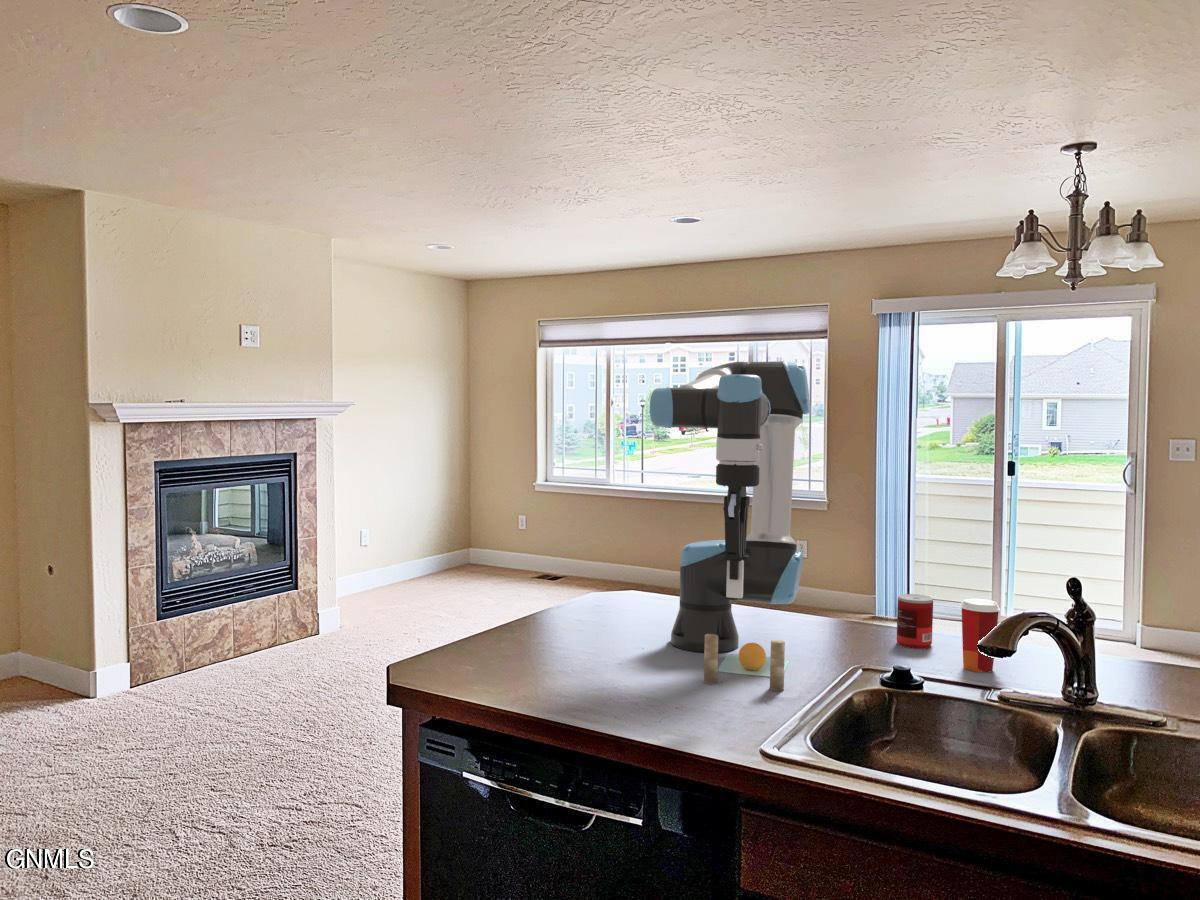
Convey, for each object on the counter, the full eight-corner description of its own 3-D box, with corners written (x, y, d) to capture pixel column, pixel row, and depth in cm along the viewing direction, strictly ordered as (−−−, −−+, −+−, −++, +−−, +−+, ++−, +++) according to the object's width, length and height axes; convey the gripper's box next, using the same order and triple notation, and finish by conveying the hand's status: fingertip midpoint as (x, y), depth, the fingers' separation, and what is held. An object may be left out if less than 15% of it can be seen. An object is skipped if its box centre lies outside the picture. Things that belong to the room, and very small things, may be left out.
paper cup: (998, 666, 186) (1000, 600, 185) (997, 675, 179) (1000, 607, 178) (958, 661, 189) (960, 596, 188) (956, 670, 182) (958, 603, 181)
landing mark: (716, 671, 178) (716, 670, 178) (727, 655, 190) (727, 654, 190) (782, 678, 174) (782, 677, 174) (789, 661, 186) (789, 660, 186)
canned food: (931, 642, 205) (932, 595, 205) (932, 650, 198) (933, 601, 197) (896, 639, 208) (897, 592, 207) (896, 647, 200) (897, 599, 200)
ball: (741, 639, 183) (740, 665, 183) (736, 644, 178) (736, 671, 177) (768, 641, 181) (767, 668, 181) (764, 647, 176) (763, 674, 176)
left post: (702, 682, 170) (703, 636, 169) (705, 679, 172) (706, 633, 172) (715, 684, 169) (717, 637, 169) (718, 680, 171) (719, 634, 171)
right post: (768, 690, 166) (770, 642, 166) (770, 686, 168) (771, 639, 168) (782, 691, 165) (784, 644, 165) (784, 687, 168) (785, 640, 167)
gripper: (754, 465, 147) (750, 606, 148) (764, 462, 160) (761, 592, 161) (709, 463, 150) (706, 602, 151) (723, 461, 162) (720, 588, 163)
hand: (734, 596), depth 156 cm, fingers closed
